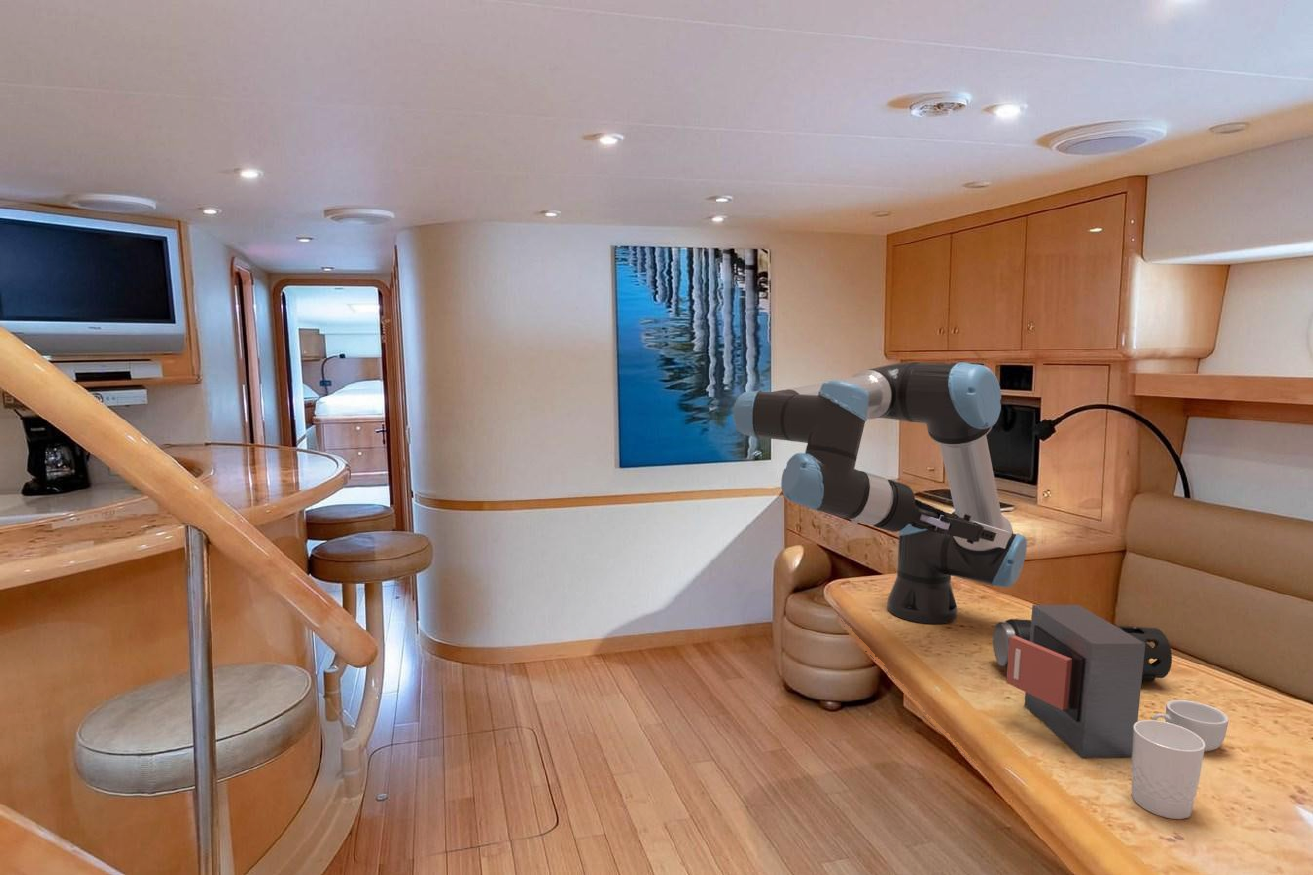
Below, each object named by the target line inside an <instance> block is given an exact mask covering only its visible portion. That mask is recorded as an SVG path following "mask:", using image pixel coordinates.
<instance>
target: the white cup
mask: <svg viewBox="0 0 1313 875" xmlns="http://www.w3.org/2000/svg"><path fill="white" fill-rule="evenodd" d="M1204 750H1205V742H1204V741H1203V739H1202V738H1201V737H1199V736H1198V735H1197V734H1195V733H1193V732H1192V731H1190V730H1188V729H1186V728H1183V727H1181V726H1178V725H1175V724H1171V723H1168V722H1166V721H1162V720H1153V719H1143V720H1138V721H1137V722H1136V723H1135V724H1134V726H1133V748H1132V758H1131V779H1132V780H1131V796H1132V799H1133V801H1134V802H1135V803H1136V804H1137V805H1138V806H1140V807H1141V808H1142V809H1143V810H1146V811H1148V812H1149V813H1152V814H1154V815H1156V816H1159V817H1163V818H1167V819H1172V820H1173V819H1174V820H1183V819H1187V818H1190V817H1191V814H1192V813H1193V809H1194V804H1195V803H1194V802H1195V798H1196V797H1197V792H1198V789H1199V788H1198V787H1199V783H1200V779H1201V778H1200V777H1201V773H1202V766H1203V759H1204V756H1205V751H1204Z"/></svg>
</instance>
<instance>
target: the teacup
mask: <svg viewBox="0 0 1313 875" xmlns="http://www.w3.org/2000/svg"><path fill="white" fill-rule="evenodd" d="M1159 718H1163V719H1164V720H1165V722H1168V723H1171V724H1175V725H1178V726H1181V727H1183V728H1186V729H1188V730H1190V731H1192V732H1193V733H1195V734H1197V735H1198V736H1199V737H1201V738H1202V739H1203V741H1204V742H1205V750H1204V752H1211V751H1214V750H1216V749H1218V748H1219V747H1221V745H1222V744H1223V743H1224V740H1225V738H1226V735H1227V730H1228V725H1229V717H1228V715H1227V714H1226V712H1225V713H1224V712H1223V711H1221V710H1220V709H1218V708H1216V707H1214V706H1211V705H1210V704H1209V705H1208V704H1205V703H1202V702H1198V701H1195V700H1189V699H1171V700H1168V701H1167V702H1166V704H1165V713H1156V714H1155V715H1154V716H1153V718H1152V720H1156V721H1158V719H1159Z"/></svg>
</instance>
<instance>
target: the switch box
mask: <svg viewBox="0 0 1313 875" xmlns="http://www.w3.org/2000/svg"><path fill="white" fill-rule="evenodd" d="M1030 620H1031V629H1030V642H1032V643H1035V644H1037V645H1039V646H1042V647H1044V648H1047V649H1049V650H1051V651H1054V652H1056V653H1059V654H1061V655H1064V656H1066V657H1068V658H1071V659H1072V667H1071V679H1070V690H1069V701H1068V709H1065V710H1061V709H1059V708H1057V707H1055V706H1053V705H1051V704H1049V703H1047V702H1045V701H1043V700H1041V699H1039V698H1037V697H1035V696H1033V695H1030V694H1028V693H1026V692H1024V694H1025V695H1024V705H1023V706H1024V707H1025V708H1026V709H1027V710H1028V711H1030V712H1031V713H1032V715H1033V716H1035V717H1036V718H1037V719H1038V720H1039V721H1041V723H1043V724H1044V726H1046V727H1047V728H1048V729H1050V730H1051V731H1052V732H1053V733H1054V734H1055V735H1056V736H1057V737H1058V738H1059V739H1060V740H1061V741H1062V742H1064V743H1065V744H1066V745H1067V746H1068V747H1069V748H1070V749H1071V750H1073V752H1074V753H1075V754H1077V755H1078V756H1079V757H1080V758H1081V759H1122V758H1123V759H1127V758H1129V759H1132V748H1133V726H1134V724H1135V723H1136V722H1138V721H1139V711H1140V699H1141V690H1142V689H1141V688H1142V681H1143V680H1142V672H1143V662H1144V652H1145V643H1144V642H1142V641H1140V640H1138V639H1137V638H1135V637H1133V636H1132V635H1130V634H1128V633H1126V632H1125V631H1123V630H1121V629H1119V628H1118V627H1116V626H1117V625H1115V624H1112V623H1111V622H1109V621H1107V620H1106V619H1104V618H1102V617H1100V616H1098V615H1096V614H1095V613H1094V612H1092V611H1090V610H1088V609H1086V608H1085V607H1083V606H1082V605H1080V604H1032V607H1031V619H1030Z"/></svg>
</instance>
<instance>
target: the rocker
mask: <svg viewBox="0 0 1313 875" xmlns="http://www.w3.org/2000/svg"><path fill="white" fill-rule="evenodd" d="M1071 667H1072V659H1071V658H1068V657H1066V656H1064V655H1061V654H1059V653H1056V652H1054V651H1051V650H1049V649H1047V648H1044V647H1042V646H1039V645H1037V644H1035V643H1032V642H1030V641H1027V640H1025V639H1022V638H1020V637H1018V636H1015V635H1014V636H1010V641H1009V654H1008V667H1006V668H1007V670H1006V680H1005V681H1006V684H1007V685H1010V686H1012V687H1014V688H1016V689H1019V690H1021V691H1023V692H1024V693H1025V692H1026V693H1028V694H1030V695H1033V696H1035V697H1037V698H1039V699H1041V700H1043V701H1045V702H1047V703H1049V704H1051V705H1053V706H1055V707H1057V708H1059V709H1061V710H1065V709H1068V701H1069V690H1070V679H1071Z"/></svg>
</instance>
